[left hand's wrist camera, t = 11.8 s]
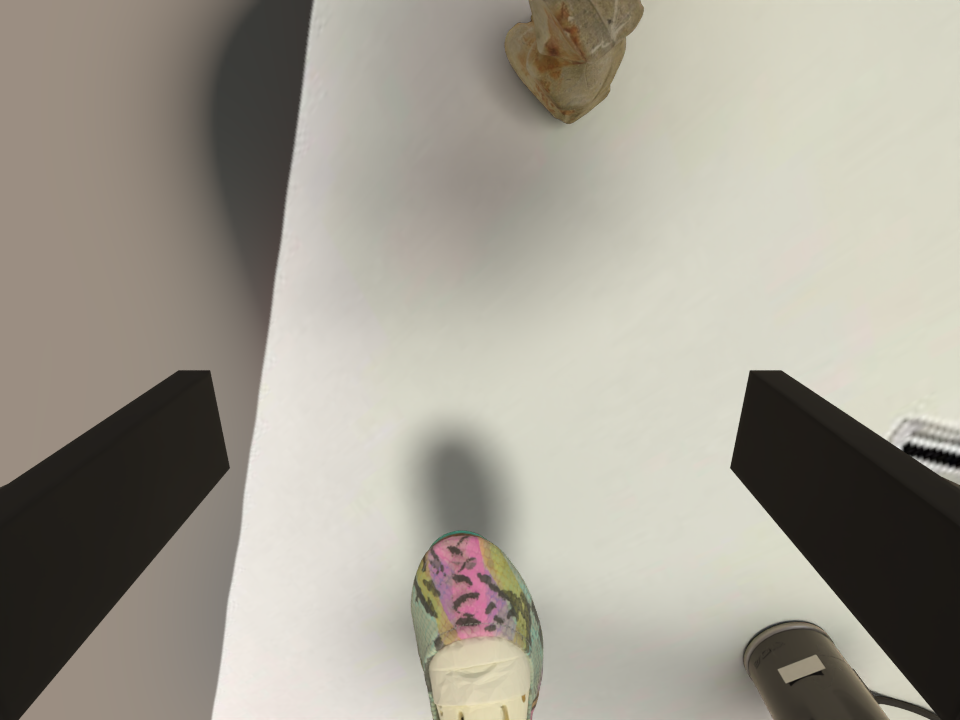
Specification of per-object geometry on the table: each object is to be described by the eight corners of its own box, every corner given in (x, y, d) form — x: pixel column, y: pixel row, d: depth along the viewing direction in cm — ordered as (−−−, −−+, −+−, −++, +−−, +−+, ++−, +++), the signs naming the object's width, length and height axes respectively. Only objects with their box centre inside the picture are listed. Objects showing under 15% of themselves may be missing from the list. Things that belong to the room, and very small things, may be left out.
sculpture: (561, -8, 34) (619, -133, 20) (614, 91, 36) (700, 41, 22) (489, 49, 35) (496, -32, 21) (544, 142, 37) (584, 125, 23)
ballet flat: (537, 517, 32) (554, 634, 24) (543, 762, 41) (557, 908, 33) (407, 522, 33) (381, 640, 25) (440, 765, 41) (429, 911, 33)
